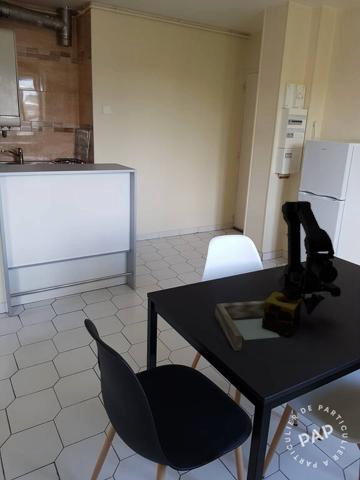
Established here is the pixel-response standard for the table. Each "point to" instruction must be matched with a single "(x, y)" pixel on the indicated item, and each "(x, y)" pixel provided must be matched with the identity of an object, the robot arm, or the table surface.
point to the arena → (237, 311)
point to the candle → (281, 314)
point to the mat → (254, 329)
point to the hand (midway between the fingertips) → (308, 314)
